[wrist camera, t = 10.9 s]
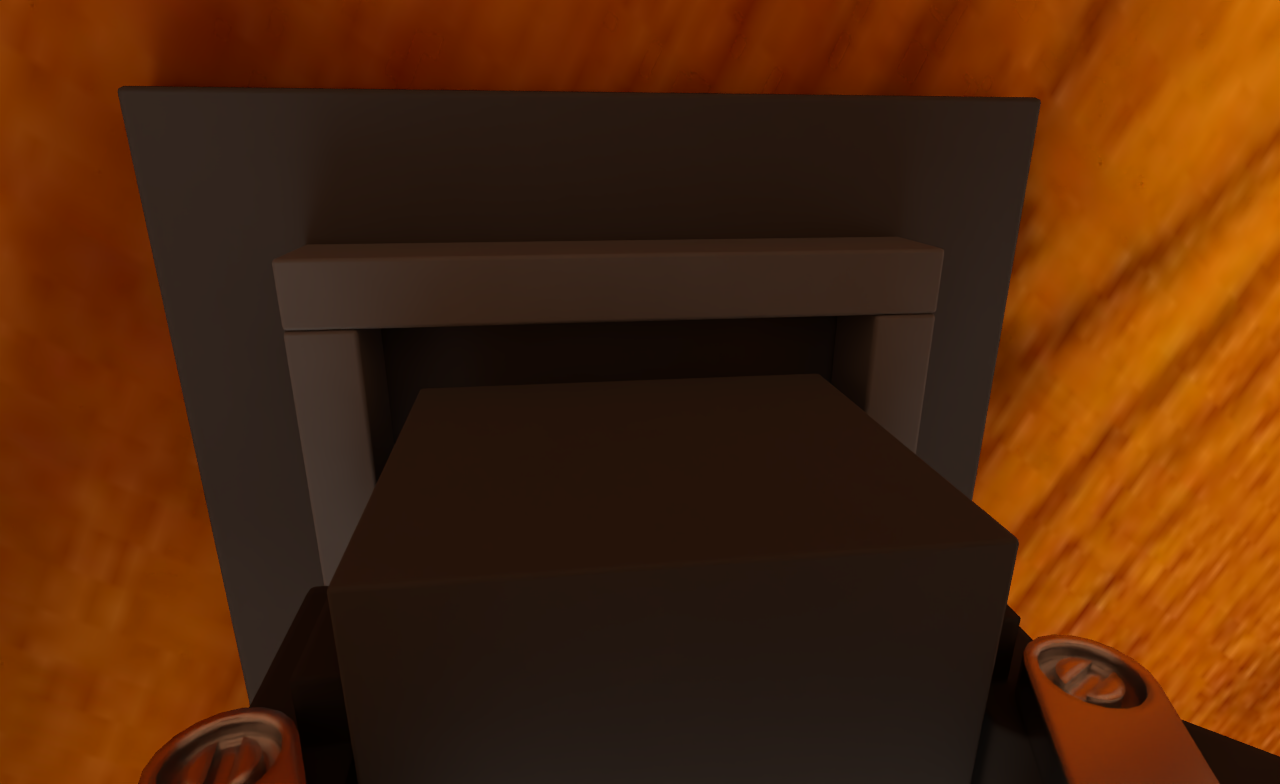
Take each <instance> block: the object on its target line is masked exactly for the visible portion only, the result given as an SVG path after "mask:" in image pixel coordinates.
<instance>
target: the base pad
mask: <svg viewBox="0 0 1280 784" xmlns="http://www.w3.org/2000/svg"><path fill="white" fill-rule="evenodd" d="M118 96H119V100H120V105H121V110H122V114H123V119H124V123H125V128H126V133H127V137H128V142H129V147H130V151H131V156H132V160H133V165H134V170H135V174H136V179H137V184H138V188H139V193H140V198H141V202H142V207H143V211H144V216H145V221H146V225H147V230H148V235H149V239H150V244H151V248H152V253H153V258H154V262H155V267H156V272H157V276H158V281H159V286H160V290H161V295H162V299H163V304H164V309H165V313H166V318H167V323H168V327H169V332H170V336H171V341H172V346H173V350H174V355H175V360H176V364H177V369H178V374H179V378H180V383H181V387H182V392H183V397H184V401H185V406H186V411H187V415H188V420H189V424H190V429H191V434H192V438H193V443H194V448H195V452H196V457H197V462H198V466H199V471H200V475H201V480H202V485H203V489H204V494H205V499H206V503H207V508H208V512H209V517H210V522H211V526H212V531H213V536H214V540H215V545H216V550H217V554H218V559H219V563H220V568H221V573H222V577H223V582H224V587H225V591H226V596H227V601H228V605H229V610H230V614H231V619H232V624H233V628H234V633H235V638H236V642H237V647H238V651H239V656H240V661H241V665H242V670H243V675H244V679H245V684H246V689H247V693H248V698H249V702H250V705H251V703H252V701H253V699H254V697H255V695H256V693H257V691H258V689H259V687H260V685H261V683H262V681H263V679H264V677H265V675H266V673H267V671H268V669H269V667H270V665H271V663H272V661H273V659H274V657H275V655H276V653H277V651H278V650H279V648H280V646H281V644H282V642H283V640H284V638H285V636H286V634H287V632H288V630H289V628H290V626H291V624H292V622H293V620H294V618H295V616H296V614H297V612H298V610H299V608H300V606H301V604H302V602H303V600H304V598H305V596H306V594H307V593H308V592H309V590H310V589H311V588H313V587H317V586H329V584H330V582H331V580H332V578H333V576H334V574H335V571H336V569H337V567H338V565H339V563H340V561H341V559H342V556H343V554H344V552H345V550H346V548H347V546H348V544H349V542H350V539H351V537H352V535H353V533H354V531H355V529H356V527H357V524H358V522H359V520H360V518H361V516H362V514H363V512H364V509H365V507H366V505H367V503H368V501H369V499H370V497H371V494H372V492H373V490H374V488H375V486H376V484H377V482H378V479H379V477H380V475H381V473H382V471H383V469H384V467H385V464H386V462H387V460H388V458H389V456H390V454H391V452H392V449H393V447H394V445H395V443H396V441H397V439H398V437H399V434H400V432H401V430H402V428H403V426H404V424H405V422H406V419H407V417H408V415H409V413H410V411H411V409H412V407H413V404H414V402H415V400H416V398H417V396H418V394H419V392H420V390H421V389H427V388H453V387H479V386H505V385H531V384H557V383H583V382H609V381H635V380H661V379H688V378H714V377H740V376H766V375H792V374H820V375H821V376H822V377H823V378H824V379H826V380H827V381H828V382H829V383H830V384H832V385H833V386H834V387H835V388H836V389H838V390H839V391H840V392H841V393H842V394H844V395H845V396H846V397H847V398H848V399H850V400H851V401H852V402H853V403H855V404H856V405H857V406H858V407H859V408H861V409H862V410H863V411H864V412H865V413H867V414H868V415H869V416H870V417H871V418H873V419H874V420H875V421H876V422H877V423H879V424H880V425H881V426H882V427H883V428H885V429H886V430H887V431H888V432H890V433H891V434H892V435H893V436H894V437H896V438H897V439H898V440H899V441H900V442H902V443H903V444H904V445H905V446H906V447H908V448H909V449H910V450H911V451H912V452H914V453H915V454H916V455H917V456H918V457H920V458H921V459H922V460H923V461H924V462H926V463H927V464H928V465H929V466H931V467H932V468H933V469H934V470H935V471H937V472H938V473H939V474H940V475H941V476H943V477H944V478H945V479H946V480H947V481H949V482H950V483H951V484H952V485H953V486H955V487H956V488H957V489H958V490H959V491H961V492H962V493H963V494H964V495H965V496H967V497H968V498H969V499H970V500H972V497H973V491H974V485H975V480H976V474H977V468H978V462H979V456H980V451H981V445H982V439H983V433H984V428H985V422H986V416H987V410H988V404H989V399H990V393H991V387H992V381H993V375H994V370H995V364H996V358H997V352H998V347H999V341H1000V335H1001V329H1002V323H1003V318H1004V312H1005V306H1006V300H1007V295H1008V289H1009V283H1010V277H1011V271H1012V266H1013V260H1014V254H1015V248H1016V242H1017V237H1018V231H1019V225H1020V219H1021V214H1022V208H1023V202H1024V196H1025V190H1026V185H1027V179H1028V173H1029V167H1030V162H1031V156H1032V150H1033V144H1034V138H1035V133H1036V127H1037V121H1038V115H1039V109H1040V104H1041V103H1040V100H1039V99H1037V98H1033V97H955V96H876V95H797V94H718V93H639V92H560V91H481V90H402V89H323V88H244V87H165V86H123V87H120V88H119V89H118Z"/></svg>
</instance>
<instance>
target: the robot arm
mask: <svg viewBox="0 0 1280 784" xmlns="http://www.w3.org/2000/svg"><path fill="white" fill-rule="evenodd" d="M327 589H328V586H317V587H313V588H311V589H310V590H309V592H308V593H307V594H306V596H305V598H304V600H303V602H302V604H301V606H300V608H299V610H298V612H297V614H296V616H295V618H294V620H293V622H292V624H291V626H290V628H289V630H288V632H287V634H286V636H285V638H284V640H283V642H282V644H281V646H280V648H279V650H278V651H277V653H276V655H275V657H274V659H273V661H272V663H271V665H270V667H269V669H268V671H267V673H266V675H265V677H264V679H263V681H262V683H261V685H260V687H259V689H258V691H257V693H256V695H255V697H254V699H253V701H252V703H251V705H250V707H249V708H240V709H236V710H231V711H227V712H222V713H219V714H217V715H214V716H212V717H209V718H207V719H204V720H202V721H200V722H197V723H195V724H194V725H192V726H190V727H189V728H187V729H186V730H184V731H182V732H181V733H179V734H177V735H176V736H174V737H173V738H172V739H171V740H170V741H169V742H167V743H166V744H165V745H164V746H163V747H162V748H161V749H159V750H158V751H157V752H156V753H155V754H154V756H153V757H152V759H151V760H150V761H149V763H148V764H147V765H146V767H145V768H144V769H143V771H142V774H141V777H140V780H139V783H138V784H358V781H357V775H356V769H355V762H354V756H353V750H352V744H351V738H350V731H349V725H348V719H347V713H346V707H345V701H344V694H343V688H342V682H341V676H340V670H339V664H338V657H337V651H336V645H335V639H334V633H333V626H332V620H331V614H330V608H329V602H328V596H327ZM1019 623H1020V617H1019V616H1018V615H1017V614H1016V613H1015V612H1014V611H1013V610H1012V609H1011V608H1010V607H1009V606H1008V605H1006V610H1005V615H1004V620H1003V625H1002V630H1001V635H1000V640H999V645H998V650H997V655H996V659H995V664H994V669H993V674H992V679H991V684H990V689H989V694H988V699H987V704H986V709H985V714H984V719H983V724H982V729H981V734H980V739H979V744H978V749H977V754H976V759H975V764H974V769H973V774H972V779H971V784H1280V757H1279V756H1276V755H1274V754H1271V753H1268V752H1266V751H1263V750H1261V749H1258V748H1255V747H1253V746H1250V745H1247V744H1245V743H1242V742H1239V741H1237V740H1234V739H1231V738H1229V737H1226V736H1223V735H1221V734H1218V733H1216V732H1213V731H1210V730H1208V729H1205V728H1202V727H1200V726H1197V725H1194V724H1192V723H1189V722H1186V721H1184V720H1181V719H1180V717H1179V715H1178V714H1177V712H1176V710H1175V709H1174V707H1173V706H1172V704H1171V702H1170V701H1169V699H1168V697H1167V696H1166V694H1165V692H1164V691H1163V689H1162V687H1161V686H1160V684H1159V683H1158V682H1157V680H1156V679H1155V678H1154V677H1153V676H1152V674H1151V673H1150V672H1149V671H1148V670H1147V669H1145V668H1144V667H1143V666H1142V665H1140V664H1139V663H1138V662H1136V661H1135V660H1134V659H1133V658H1131V657H1129V656H1127V655H1125V654H1123V653H1122V652H1120V651H1118V650H1116V649H1114V648H1112V647H1109V646H1107V645H1104V644H1101V643H1099V642H1096V641H1094V640H1090V639H1085V638H1081V637H1076V636H1071V635H1048V636H1042V637H1038V638H1036V639H1034V640H1032V639H1031V638H1030V637H1029V636H1028V635H1027V634H1026V633H1025V632H1024V631H1023V630H1022V629H1021V628H1020V627H1019Z"/></svg>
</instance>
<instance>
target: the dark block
mask: <svg viewBox="0 0 1280 784" xmlns="http://www.w3.org/2000/svg"><path fill="white" fill-rule="evenodd" d="M1018 545H1019V542H1018V539H1017V538H1016V537H1015V536H1014V535H1013V534H1011V533H1010V532H1009V531H1008V530H1007V529H1005V528H1004V527H1003V526H1002V525H1000V524H999V523H998V522H997V521H996V520H994V519H993V518H992V517H991V516H990V515H988V514H987V513H986V512H985V511H984V510H982V509H981V508H980V507H979V506H978V505H976V504H975V503H974V502H973V501H972V500H970V499H969V498H968V497H967V496H965V495H964V494H963V493H962V492H961V491H959V490H958V489H957V488H956V487H955V486H953V485H952V484H951V483H950V482H949V481H947V480H946V479H945V478H944V477H943V476H941V475H940V474H939V473H938V472H937V471H935V470H934V469H933V468H932V467H931V466H929V465H928V464H927V463H926V462H924V461H923V460H922V459H921V458H920V457H918V456H917V455H916V454H915V453H914V452H912V451H911V450H910V449H909V448H908V447H906V446H905V445H904V444H903V443H902V442H900V441H899V440H898V439H897V438H896V437H894V436H893V435H892V434H891V433H890V432H888V431H887V430H886V429H885V428H883V427H882V426H881V425H880V424H879V423H877V422H876V421H875V420H874V419H873V418H871V417H870V416H869V415H868V414H867V413H865V412H864V411H863V410H862V409H861V408H859V407H858V406H857V405H856V404H855V403H853V402H852V401H851V400H850V399H848V398H847V397H846V396H845V395H844V394H842V393H841V392H840V391H839V390H838V389H836V388H835V387H834V386H833V385H832V384H830V383H829V382H828V381H827V380H826V379H824V378H823V377H822V376H821V375H820V374H792V375H766V376H740V377H714V378H688V379H661V380H635V381H609V382H583V383H557V384H531V385H505V386H479V387H453V388H427V389H421V390H420V392H419V394H418V396H417V398H416V400H415V402H414V404H413V407H412V409H411V411H410V413H409V415H408V417H407V419H406V422H405V424H404V426H403V428H402V430H401V432H400V434H399V437H398V439H397V441H396V443H395V445H394V447H393V449H392V452H391V454H390V456H389V458H388V460H387V462H386V464H385V467H384V469H383V471H382V473H381V475H380V477H379V479H378V482H377V484H376V486H375V488H374V490H373V492H372V494H371V497H370V499H369V501H368V503H367V505H366V507H365V509H364V512H363V514H362V516H361V518H360V520H359V522H358V524H357V527H356V529H355V531H354V533H353V535H352V537H351V539H350V542H349V544H348V546H347V548H346V550H345V552H344V554H343V556H342V559H341V561H340V563H339V565H338V567H337V569H336V571H335V574H334V576H333V578H332V580H331V582H330V584H329V586H328V589H327V596H328V602H329V608H330V614H331V620H332V626H333V633H334V639H335V645H336V651H337V657H338V664H339V670H340V676H341V682H342V688H343V694H344V701H345V707H346V713H347V719H348V725H349V731H350V738H351V744H352V750H353V756H354V762H355V769H356V775H357V781H358V784H971V779H972V774H973V769H974V764H975V759H976V754H977V749H978V744H979V739H980V734H981V729H982V724H983V719H984V714H985V709H986V704H987V699H988V694H989V689H990V684H991V679H992V674H993V669H994V664H995V659H996V655H997V650H998V645H999V640H1000V635H1001V630H1002V625H1003V620H1004V615H1005V610H1006V605H1007V600H1008V595H1009V590H1010V585H1011V580H1012V575H1013V570H1014V565H1015V560H1016V555H1017V550H1018Z"/></svg>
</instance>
